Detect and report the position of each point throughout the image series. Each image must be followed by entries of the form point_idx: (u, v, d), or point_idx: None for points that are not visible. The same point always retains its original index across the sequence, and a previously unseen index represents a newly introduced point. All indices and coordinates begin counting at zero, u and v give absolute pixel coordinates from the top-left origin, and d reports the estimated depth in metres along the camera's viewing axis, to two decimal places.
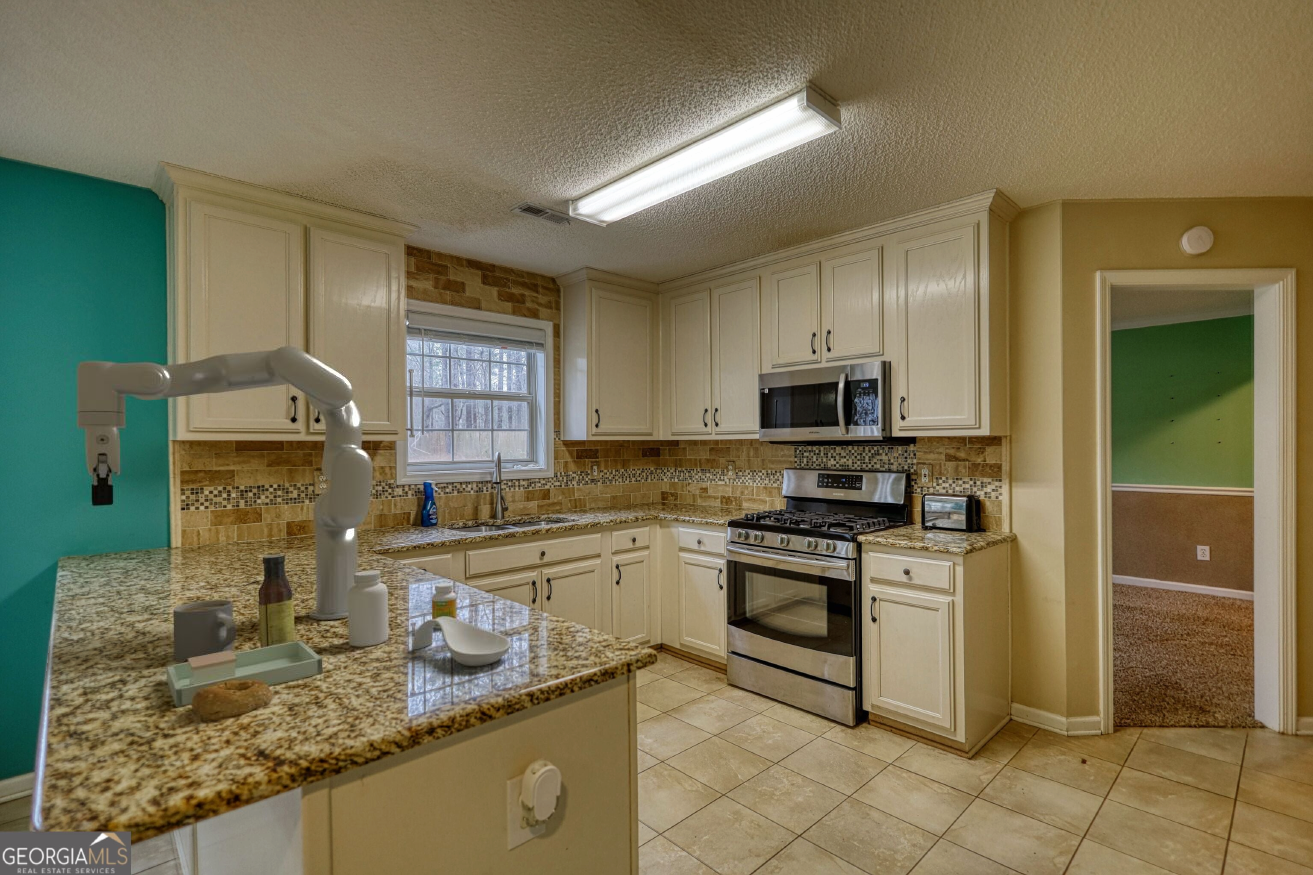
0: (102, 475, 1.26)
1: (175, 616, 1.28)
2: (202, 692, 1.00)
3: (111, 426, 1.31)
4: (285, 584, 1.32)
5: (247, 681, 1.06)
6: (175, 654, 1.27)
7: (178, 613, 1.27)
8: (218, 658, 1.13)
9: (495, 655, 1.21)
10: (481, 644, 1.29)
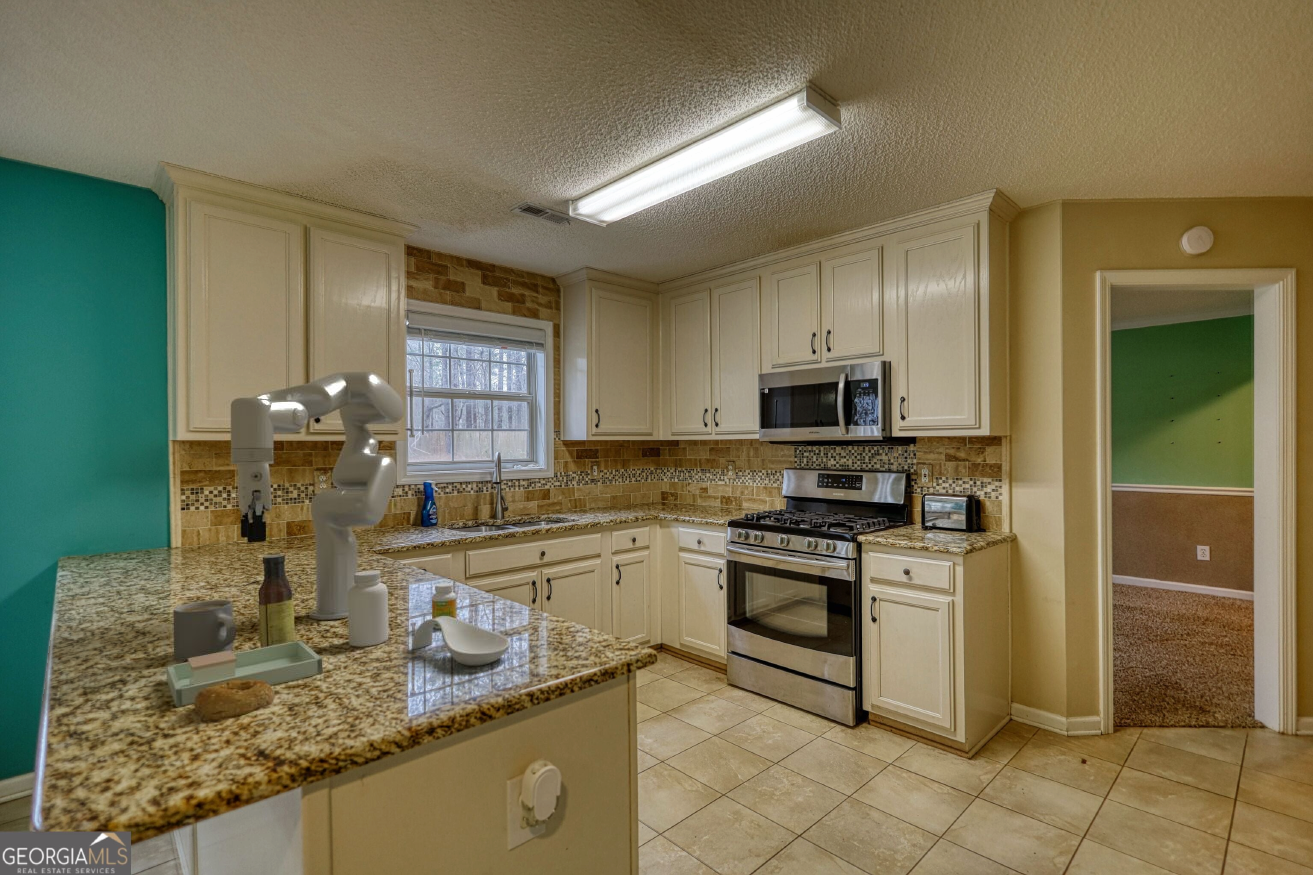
0: (258, 512, 1.27)
1: (175, 616, 1.28)
2: (204, 692, 1.00)
3: (263, 462, 1.31)
4: (285, 584, 1.32)
5: (249, 681, 1.06)
6: (175, 654, 1.27)
7: (178, 613, 1.27)
8: (218, 658, 1.13)
9: (494, 655, 1.21)
10: (480, 644, 1.29)
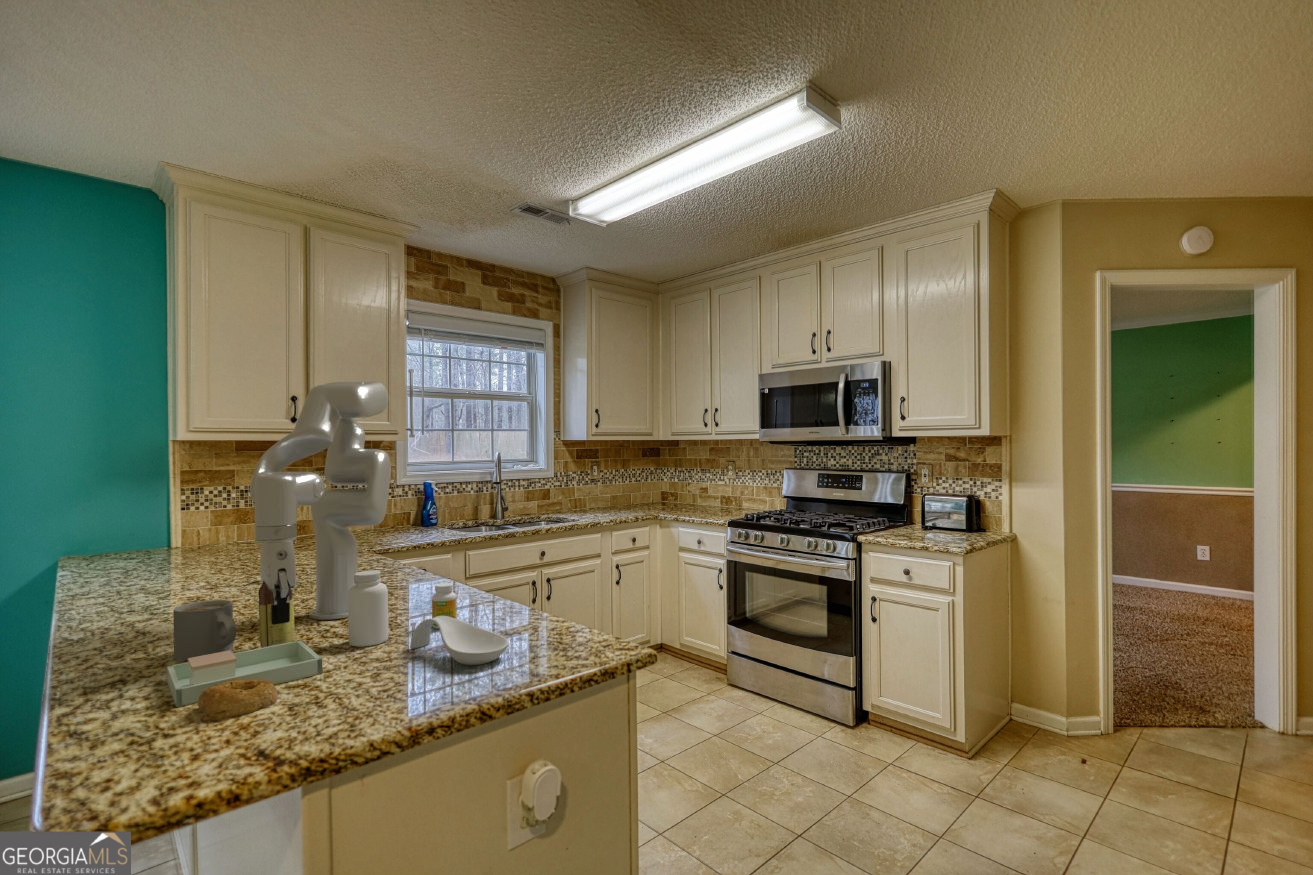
0: (283, 595, 1.28)
1: (175, 616, 1.28)
2: (208, 691, 1.00)
3: (287, 539, 1.31)
4: None
5: (253, 680, 1.06)
6: (175, 654, 1.27)
7: (178, 613, 1.27)
8: (218, 658, 1.13)
9: (493, 654, 1.21)
10: (479, 643, 1.29)
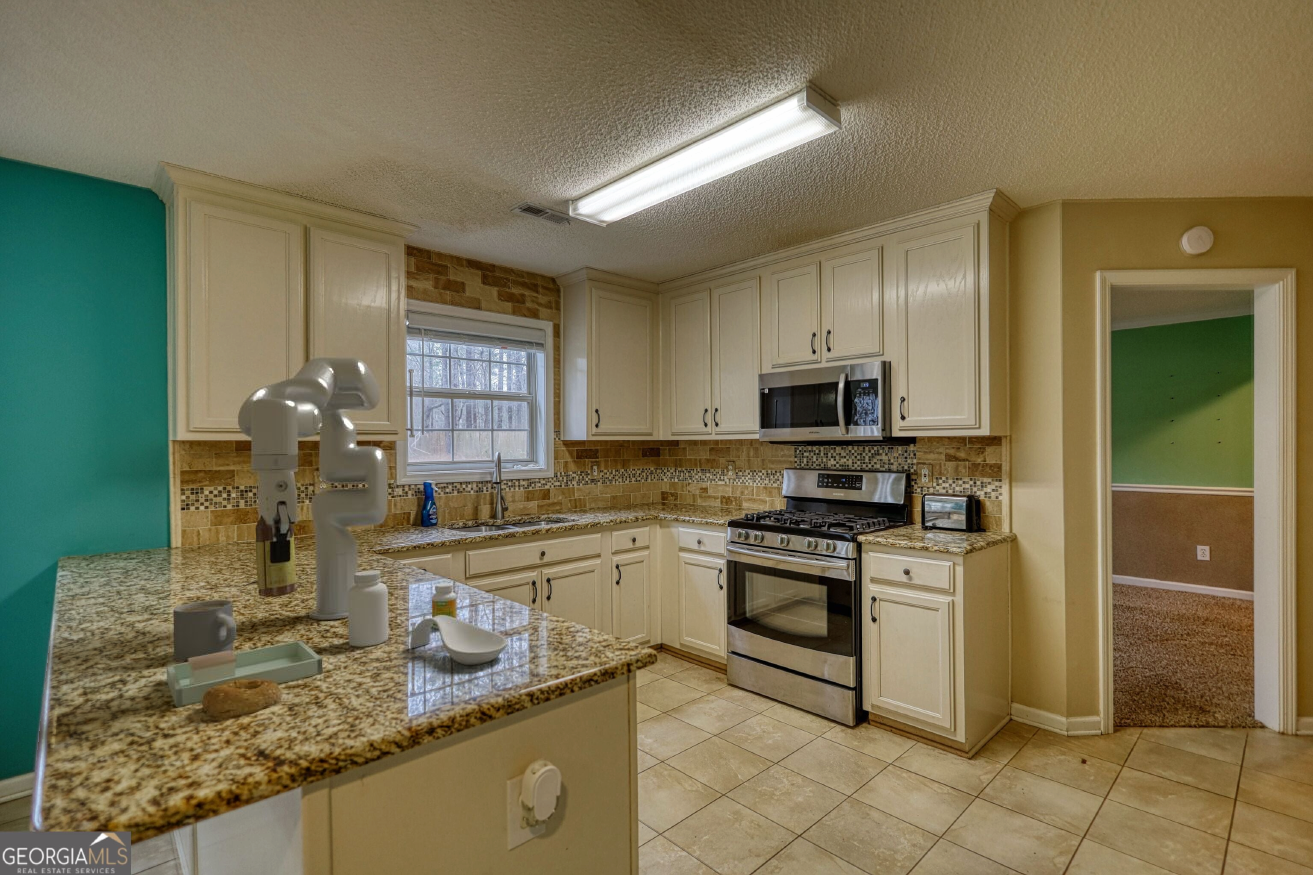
0: (283, 530, 1.15)
1: (175, 616, 1.28)
2: (212, 691, 1.00)
3: (288, 470, 1.19)
4: None
5: (256, 680, 1.06)
6: (175, 654, 1.27)
7: (178, 613, 1.27)
8: (218, 658, 1.13)
9: (491, 653, 1.22)
10: (478, 643, 1.30)
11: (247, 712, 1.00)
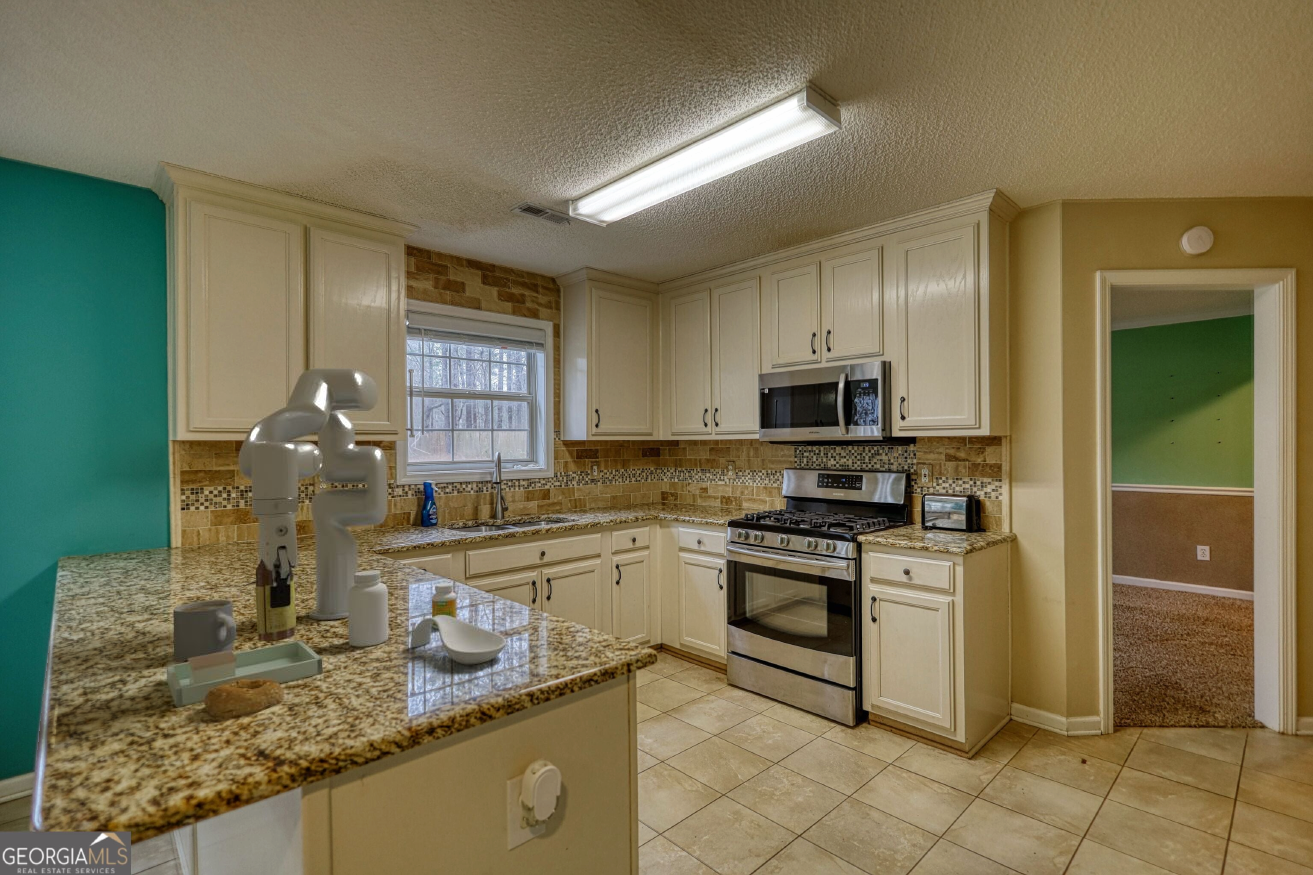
0: (283, 575, 1.15)
1: (175, 616, 1.28)
2: (215, 691, 1.00)
3: (288, 514, 1.18)
4: None
5: (258, 680, 1.06)
6: (175, 654, 1.27)
7: (178, 613, 1.27)
8: (218, 658, 1.13)
9: (490, 653, 1.22)
10: (477, 642, 1.30)
11: (250, 712, 1.00)
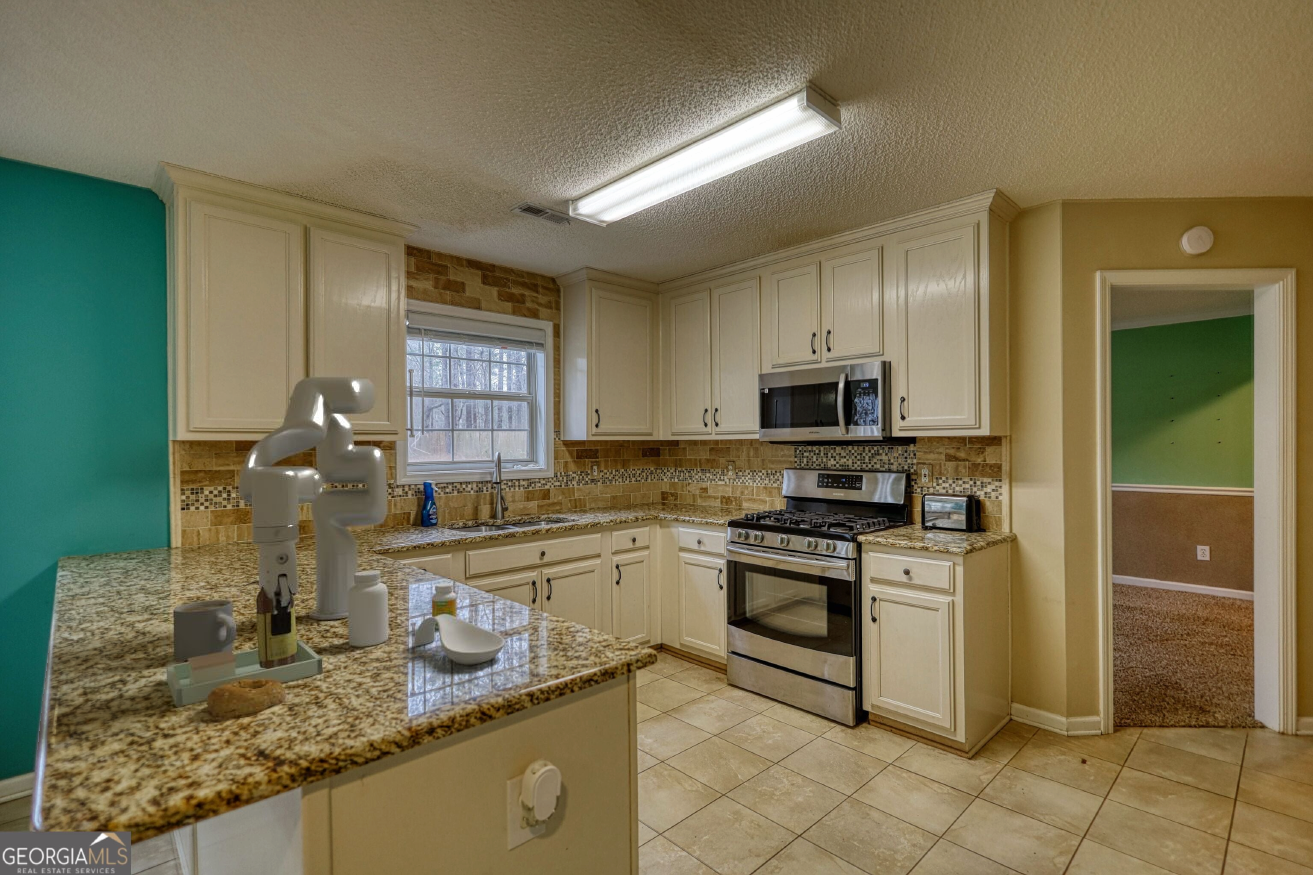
0: (284, 604, 1.15)
1: (175, 616, 1.28)
2: (217, 690, 1.00)
3: (289, 541, 1.18)
4: None
5: (261, 679, 1.06)
6: (175, 654, 1.27)
7: (178, 613, 1.27)
8: (218, 658, 1.13)
9: (487, 654, 1.21)
10: (478, 642, 1.30)
11: (252, 711, 1.00)
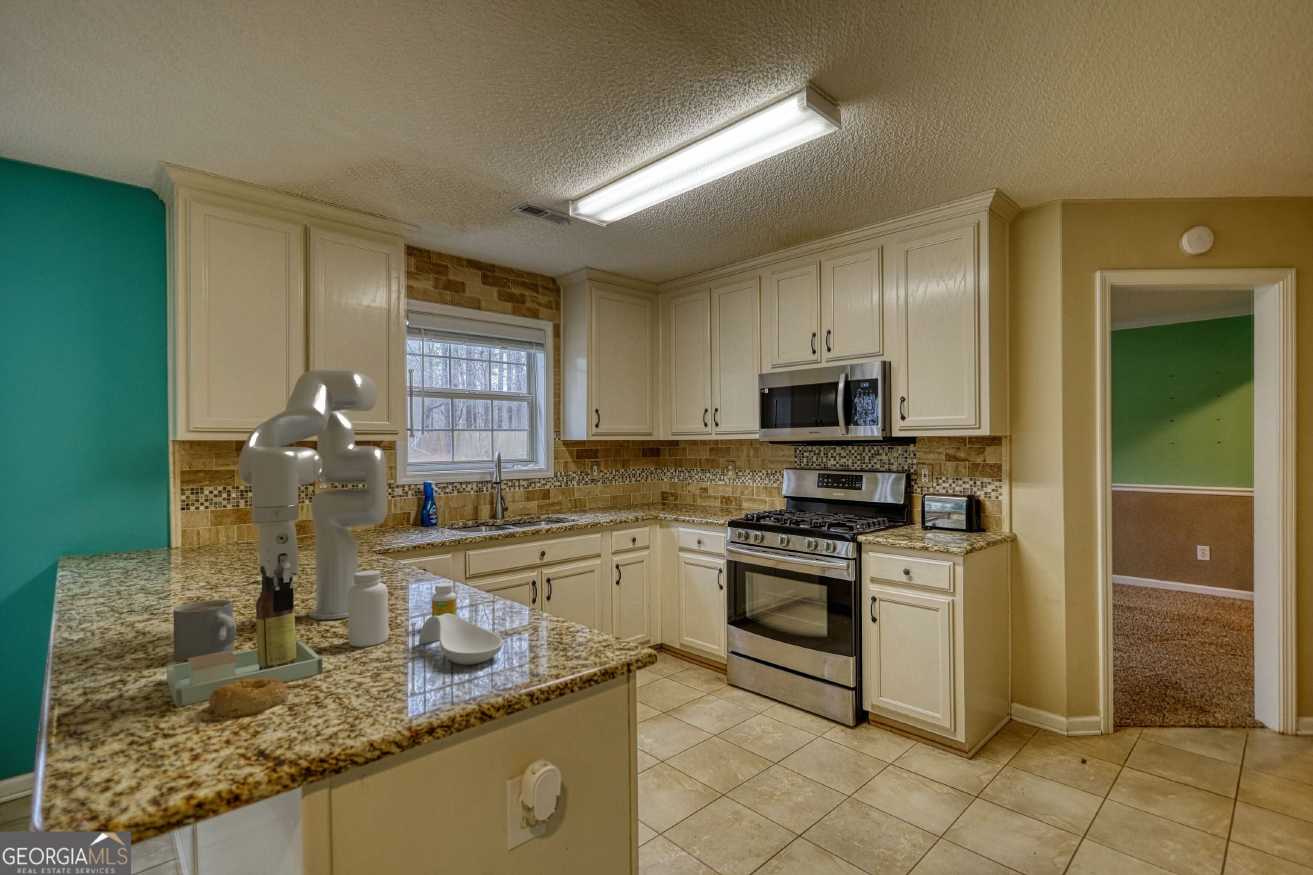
0: (286, 580, 1.14)
1: (175, 616, 1.28)
2: (220, 690, 1.00)
3: (289, 521, 1.19)
4: None
5: (263, 679, 1.07)
6: (175, 654, 1.27)
7: (178, 613, 1.27)
8: (218, 658, 1.13)
9: (482, 655, 1.21)
10: (478, 643, 1.30)
11: (255, 711, 1.00)
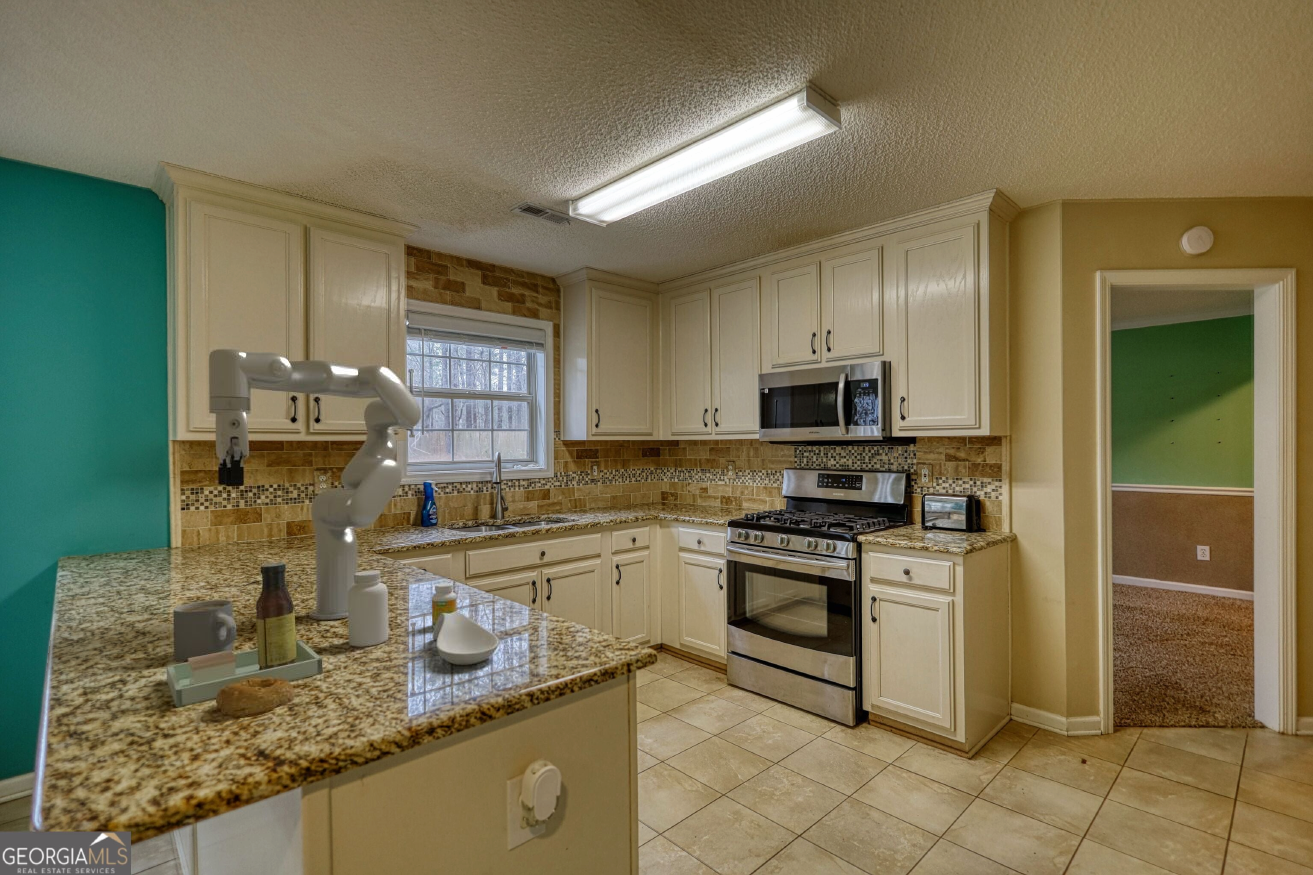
0: (236, 457, 1.33)
1: (175, 616, 1.28)
2: (227, 689, 1.01)
3: (241, 411, 1.37)
4: (285, 596, 1.19)
5: (269, 678, 1.07)
6: (175, 654, 1.27)
7: (178, 613, 1.27)
8: (218, 658, 1.13)
9: (471, 656, 1.20)
10: (478, 643, 1.30)
11: (262, 710, 1.01)
